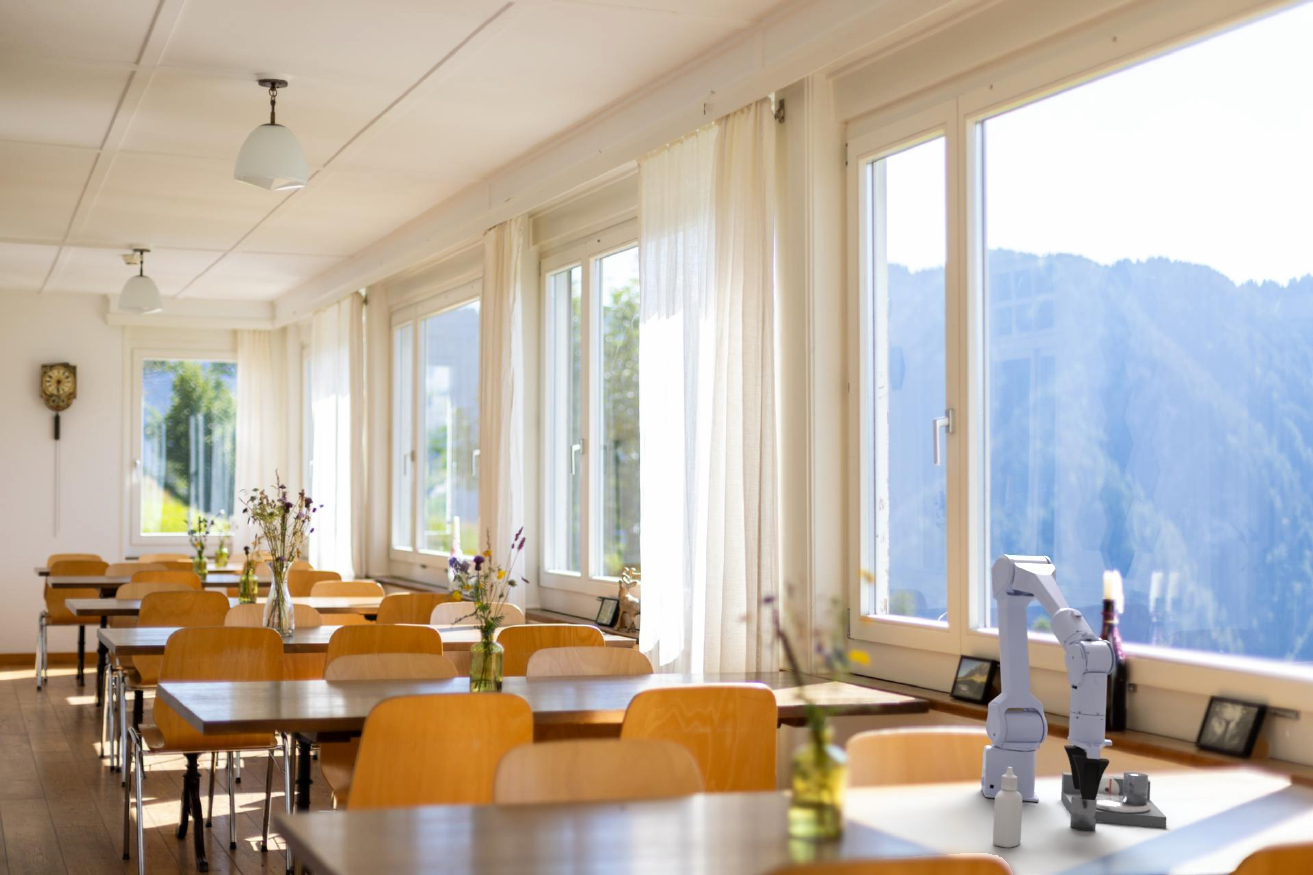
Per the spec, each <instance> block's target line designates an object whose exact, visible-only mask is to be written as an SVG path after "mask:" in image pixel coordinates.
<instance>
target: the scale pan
mask: <svg viewBox="0 0 1313 875" xmlns="http://www.w3.org/2000/svg"><path fill="white" fill-rule="evenodd" d="M1096 799H1097V804H1096V809H1098V810H1103V811H1109V812H1116V813H1131V814H1135V813H1145V812H1148V811H1150V804H1149V803H1147V805H1146V806H1135V805H1129V804H1126V803H1123V795H1117V794H1108V793H1097V796H1096Z"/></svg>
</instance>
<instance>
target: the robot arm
mask: <svg viewBox="0 0 1313 875" xmlns="http://www.w3.org/2000/svg"><path fill="white" fill-rule="evenodd" d="M1056 579H1057V568H1056V567H1055V565H1054V562H1052V559H1050V557H1048V556H1046V555H1040V556H1033V555H1032V556H1031V555H1009V554H1007V553H1006V554H1000V555H999V556H998V557H997V558H996V560H995V562H994V563H993V565H992V567H991V585H992V586H991V587H992V598H993V599H994V600H995V601H996V602H997V603H996V605H997V606H996V608H997V623H998V624H997V625H998V646H999V648H998V649H999V663H1000V664H999V665H1000V667H999V668H1000V684H1001V685H1000V686H1001V687H1000V688H1001V693H1000V694H999V695H998V696H996V697H994V699H992V700H991V701H990V702H989V703H988V704H987V705H988V707H987V709H988V710H987V718H986V721H985V731H986V735H987V737H988V739H989V742H991V745H990V744H987V745H984V746H983V751H982V752H983V753H982V769H981V770H982V771H981V778H980V784H981V786H980V787H981V791H982V792H983V795H984V797H986V798H990V799H993V798H994V799H995V797H996V795H997V793H998V792H999V791H1000V790H1001V789H1002V788H1001V781H1002V775H1004V774H1006V772H1007V768H1008V767H1012V769H1013V774H1014V775H1015V776H1017V777H1018V779H1017V790H1016V791H1018V792H1019V793H1020V794H1021V795H1022V801H1026V802H1036V803H1037V802H1039V801H1040V800H1039V797H1038V795H1037V793H1036V792H1035V785H1036V783H1035V781H1036V763H1037V762H1036V760H1037V750H1040V749H1041V745H1042V744H1044V742H1045V740H1046V739H1047V736H1048V728H1049V727H1048V722H1047V719H1046V717H1045V712H1044V704H1043V703H1042V702H1041V701H1040V700H1039V699H1038V698H1036V697H1035V696H1034V695H1033V694H1032V693H1031V675H1030V674H1031V673H1030V660H1029V658H1030V657H1029V639H1028V638H1029V636H1028V623H1027V622H1028V619H1027V607H1028V606H1029V605H1030V604H1031V603H1032V602H1034V601H1036V600H1037V601H1038V603H1039V604H1040V605H1041V607H1043V609H1044V611H1046V613H1047V614H1048V615H1049V617H1050V618H1051V619H1050V623H1049V627H1050V630H1051V632H1052V633H1053V634H1054V636H1055V638H1056V639H1057V640H1058V643H1059V644H1060V646H1061V648H1062V649H1063V650H1064V652H1065V654H1064V656H1063V657H1064V664H1065V668H1066V671H1067V680H1068V684H1069V685H1070V695H1069V696H1070V697H1069V698H1070V699H1069V700H1070V702H1069V703H1070V704H1069V721H1068V722H1069V723H1068V724H1069V725H1068V728H1069V729H1068V736H1067V741H1066V742H1067V743H1068V744H1069V745H1068V744H1067V745H1063V747H1064V748H1063V749H1064V750H1065V752H1066V754H1067V757H1068V762H1069V766H1070V773H1072V780H1073V785H1074V789H1080V793H1081V797H1082V799H1084V800H1095V799H1096V796H1097V793H1098V789H1099V785H1100V781H1101V778H1102V775H1104V774H1105V771H1106V769H1107V767H1108V766H1109V764H1110V760H1109V759H1108V758H1101V750H1102V749H1104V748H1105V747H1106V746H1107V747H1108V746H1109V747H1111V746H1113V741H1112V740H1111V739H1106V715H1107V714H1106V713H1107V711H1106V710H1107V688H1108V687H1107V684H1108V675H1111V674H1112V672H1113V671H1114V669H1115V666H1116V653H1115V650H1114V648H1113V646H1112V644H1111V642H1110V641H1109V640H1106V639H1102V638H1101V637H1098V636H1096V634H1095V633H1094V631H1093V630H1092V628H1091V627H1090V625H1089V624H1088V622H1087V621H1086V619H1085V618H1084V616H1083V613H1082V612H1081V611H1080V610H1078V609H1075V608H1070V606H1069V605H1068V603H1067V601H1066V599H1065V596H1064V595H1063V593H1062V591H1061V589H1060V588H1059V585H1058V584H1057V581H1056ZM1008 709H1023V710H1008Z"/></svg>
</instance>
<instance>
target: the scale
mask: <svg viewBox="0 0 1313 875" xmlns="http://www.w3.org/2000/svg"><path fill="white" fill-rule="evenodd" d="M1061 774H1062V775H1061V798H1060V799H1061V801H1062V803H1063V805H1064V806H1065V807H1066V810H1067V811H1068V812H1069V814H1070V815H1071V799H1072V796H1075V795H1081V793H1080V789H1074V785H1073V780H1072V773H1071V772H1068V771H1067V772H1066V771H1062V773H1061ZM1123 778H1124V776H1114V775H1104V774H1103V775H1102V778H1101V781H1100V785H1099V789H1098V793H1108V794H1117V795H1123ZM1147 803H1149V804H1150V811H1148V812H1145V813H1135V814H1131V813H1116V812H1109V811H1103V810H1098V809H1096V823H1106V824H1118V825H1119V824H1120V825H1131V826H1140V827H1141V826H1142V827H1152V828H1160V829H1161V828H1163V829H1167V816H1166V815H1165V814H1164V812H1162V811H1161V809H1160V808H1158V806H1156V805H1155V803H1154V802H1152V800H1151V780H1149V779H1148V789H1147Z"/></svg>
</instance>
